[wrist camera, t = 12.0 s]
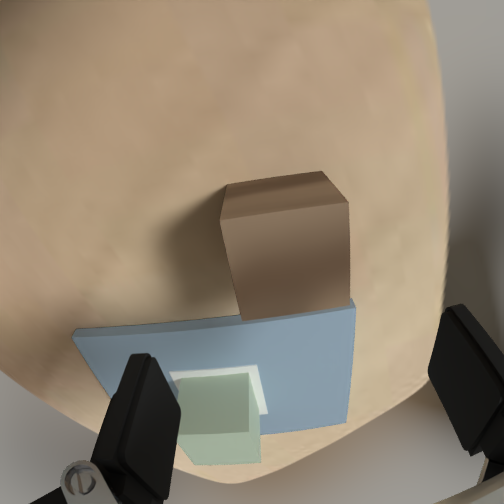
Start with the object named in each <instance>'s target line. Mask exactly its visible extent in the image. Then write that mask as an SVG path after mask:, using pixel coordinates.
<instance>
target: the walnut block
mask: <svg viewBox="0 0 504 504" xmlns="http://www.w3.org/2000/svg"><path fill="white" fill-rule="evenodd" d="M219 221H220V226H221V230H222V235H223V239H224V244H225V248H226V253H227V258H228V262H229V267H230V271H231V275H232V280H233V284H234V289H235V293H236V297H237V302H238V306H239V310H240V315H241V319H242V321H248V320H256V319H264V318H271V317H278V316H285V315H292V314H299V313H306V312H312V311H319V310H325V309H331V308H337V307H343V306H348V305H350V227H349V202H348V201H347V200H346V199H345V197H344V196H343V195H342V194H341V193H340V191H339V190H338V189H337V188H336V187H335V185H334V184H333V183H332V182H331V181H330V180H329V178H328V177H327V176H326V175H325V174H324V173H323V172H322V171H317V172H309V173H301V174H294V175H286V176H279V177H272V178H265V179H258V180H252V181H245V182H239V183H233V184H227V187H226V192H225V197H224V201H223V206H222V211H221V215H220V220H219Z"/></svg>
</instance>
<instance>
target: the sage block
mask: <svg viewBox="0 0 504 504" xmlns="http://www.w3.org/2000/svg"><path fill="white" fill-rule="evenodd" d="M177 402H178V404H179V406H180V408H181V420H180V426H179V432H178V438H177V443H178V444H179V446H180V447H181V448H182V450H183V451H184V452H185V453H186V455H187V456H188V457H189V459H190V460H191V461H192V462H193V464H194V465H231V464H249V463H261V447H260V416H259V407H258V404H257V400H256V397H255V393H254V390H253V386H252V383H251V379H250V376H249V372H248V373H239V374H228V375H217V376H205V377H190V378H181V382H180V388H179V393H178V399H177Z"/></svg>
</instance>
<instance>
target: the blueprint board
mask: <svg viewBox="0 0 504 504" xmlns="http://www.w3.org/2000/svg"><path fill="white" fill-rule="evenodd" d="M355 319H356V307H355V304H354V302H353V300H352V298H351V299H350V305H348V306H343V307H337V308H331V309H325V310H319V311H312V312H306V313H299V314H292V315H285V316H278V317H271V318H264V319H256V320H248V321H242V319H241V315H235V316H226V317H217V318H208V319H199V320H189V321H179V322H168V323H157V324H145V325H132V326H118V327H102V328H84V329H76V330H75V332H74V334H73V336H72V337H71V338H72V339H73V341H74V343H75V344H76V346H77V348H78V349H79V351H80V353H81V354H82V356H83V357H84V359H85V361H86V362H87V364H88V365H89V367H90V368H91V370H92V371H93V373H94V374H95V376H96V377H97V379H98V380H99V382H100V383H101V385H102V386H103V388H104V389H105V391H106V392H107V393H108V395H109V396H110V398H112V396H113V394H115V393H116V391H117V389H118V386H119V383H120V381H121V378H122V375H123V373H124V370H125V367H126V365H127V362H128V359H129V357H130V355H131V354H136V353H149V354H150V355H151V357H155V358H156V359H157V361H158V364H159V366H160V368H161V370H162V372H163V374H164V376H165V378H166V380H167V382H168V384H169V386H170V388H171V390H172V392H173V394H174V396H175V398H176V400H177V399H178V393H179V388H180V382H181V378H190V377H205V376H217V375H228V374H239V373H248V372H249V376H250V379H251V383H252V386H253V390H254V393H255V397H256V400H257V404H258V407H259V416H260V435H265V434H275V433H284V432H292V431H299V430H306V429H313V428H319V427H325V426H331V425H337V424H342V423H346V420H347V412H348V403H349V394H350V385H351V375H352V364H353V351H354V337H355Z"/></svg>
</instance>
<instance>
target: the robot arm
mask: <svg viewBox="0 0 504 504" xmlns="http://www.w3.org/2000/svg"><path fill="white" fill-rule="evenodd" d="M428 376H429V378H430V380H431V382H432V384H433V386H434V388H435V390H436V392H437V394H438V396H439V398H440V400H441V402H442V404H443V406H444V408H445V410H446V412H447V414H448V416H449V419H450V421H451V423H452V425H453V427H454V429H455V432H456V434H457V436H458V438H459V440H460V443H461V445H462V447H463V448H464V450H466V451H468V452H469V454H470V456H473V455H475V454H477V453H479V452H481V451H483V452H484V454H485V456H486V457H485V461H484V464H483V467H482V470H481V474H480V476H479V479H478V482H477V485H476V486H474V487H472V488H470V489H467V490H465V491H463V492H461V493H459V494H456V495H454V496H452V497H449V498H447V499H444V500H442V501H440V502H437V503H434V504H504V355H503V354H502V352H501V351H500V349H499V348H498V347H497V345H496V344H495V343H494V342H493V340H492V339H491V338H490V336H489V335H488V334H487V332H486V331H485V330H484V329H483V327H482V326H481V325H480V324H479V322H478V321H477V320H476V319H475V317H474V316H473V315H472V314H471V312H470V311H469V310H468V309H467V308H466V307H465V306H464V305H463V304H458V305H454V306H450V307H447V308H446V309H445V312H444V313H442V315H441V319H440V324H439V328H438V332H437V336H436V340H435V344H434V348H433V352H432V355H431V359H430V363H429V366H428ZM180 420H181V408H180V406H179V404H178V402H177V400H176V398H175V396H174V394H173V392H172V390H171V388H170V386H169V384H168V382H167V380H166V378H165V376H164V374H163V372H162V370H161V368H160V366H159V364H158V361H157V359H156V358H155V357H151V355H150V354H149V353H136V354H131V355H130V357H129V359H128V362H127V365H126V367H125V370H124V373H123V375H122V378H121V381H120V383H119V386H118V389H117V391H116V393H115V394H113V396H112V398H111V401H110V404H109V406H108V409H107V412H106V415H105V418H104V421H103V423H102V426H101V429H100V432H99V435H98V438H97V442H96V444H95V448H94V451H93V454H92V457H91V460H90V462H89V461H85V460H81V461H76V462H73V463H71V464H70V465H68V466H67V467H66V469H65V470H64V471H63V473H62V476H61V481H60V484H61V486H60V487H59V488H57V489H55V490H54V491H52V492H50V493H48V494H46V495H44V496H43V497H41V498H39V499H37V500H35V501H34V502H32V503H30V504H163V501H164V500H167V499H168V497H169V491H170V483H171V477H172V470H173V464H174V457H175V451H176V444H177V438H178V432H179V426H180Z"/></svg>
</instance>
